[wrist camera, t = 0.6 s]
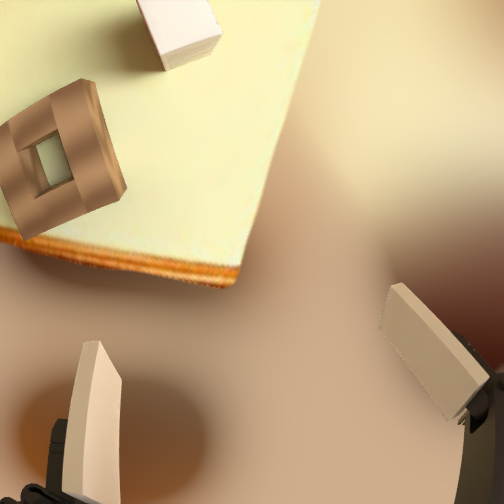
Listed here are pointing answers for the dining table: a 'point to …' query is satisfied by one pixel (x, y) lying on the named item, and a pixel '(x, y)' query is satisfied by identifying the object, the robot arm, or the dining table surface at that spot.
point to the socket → (77, 152)
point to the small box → (180, 29)
